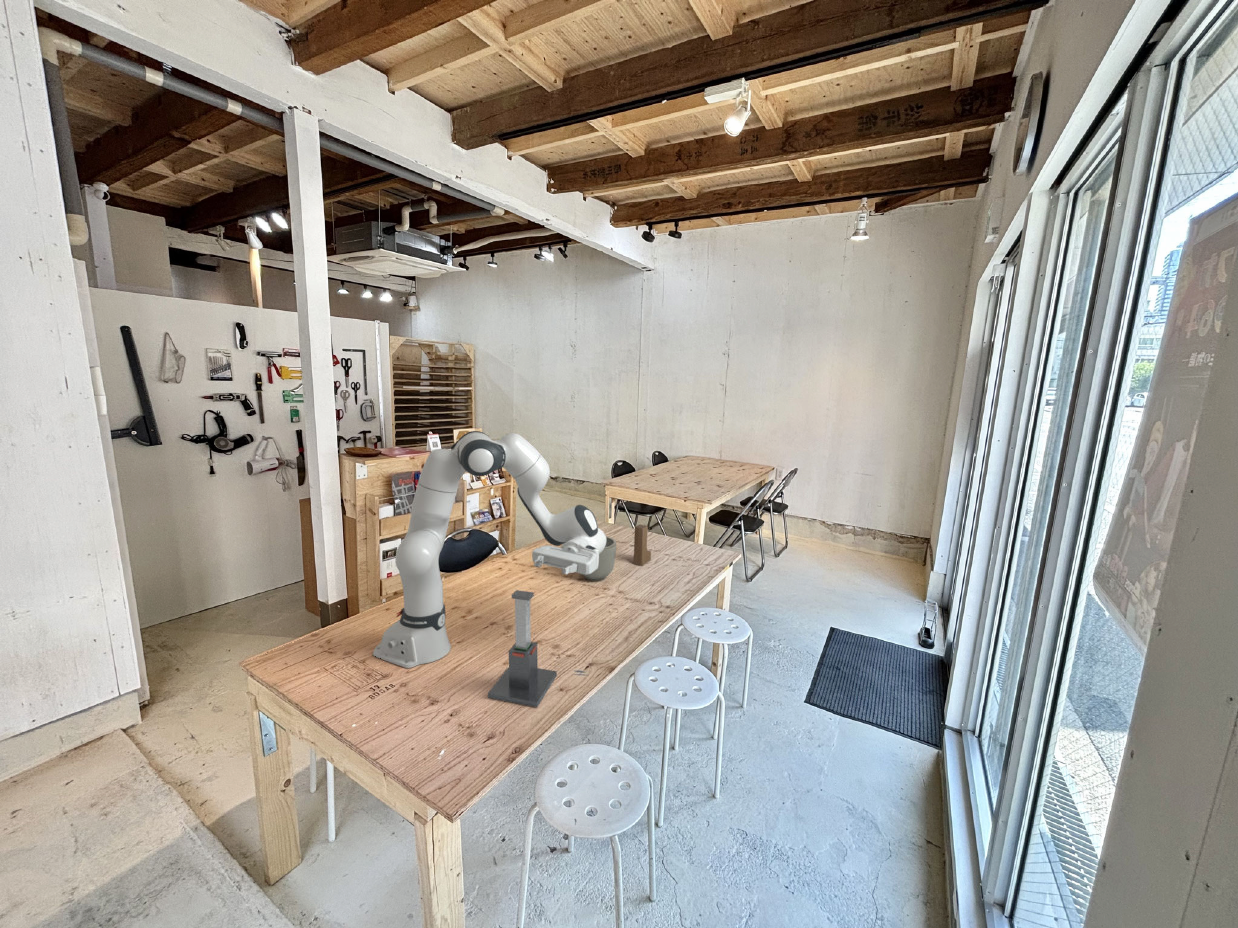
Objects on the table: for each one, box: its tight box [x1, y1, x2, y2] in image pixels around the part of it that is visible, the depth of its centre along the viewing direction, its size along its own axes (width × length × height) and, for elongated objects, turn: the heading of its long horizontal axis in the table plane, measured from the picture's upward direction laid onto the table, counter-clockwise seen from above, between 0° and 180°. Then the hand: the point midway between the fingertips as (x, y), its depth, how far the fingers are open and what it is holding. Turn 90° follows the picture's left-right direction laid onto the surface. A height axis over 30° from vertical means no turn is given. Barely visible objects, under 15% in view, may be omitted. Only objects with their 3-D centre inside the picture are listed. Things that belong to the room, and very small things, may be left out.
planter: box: [581, 535, 617, 582], centre depth 208 cm, size 17×17×16 cm
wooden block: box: [633, 524, 652, 567], centre depth 226 cm, size 9×4×18 cm, turn 149°
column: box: [511, 589, 535, 652], centre depth 132 cm, size 5×3×20 cm, turn 76°
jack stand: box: [487, 641, 558, 708], centre depth 134 cm, size 14×14×12 cm
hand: (549, 567), depth 142 cm, fingers open, 8 cm apart
